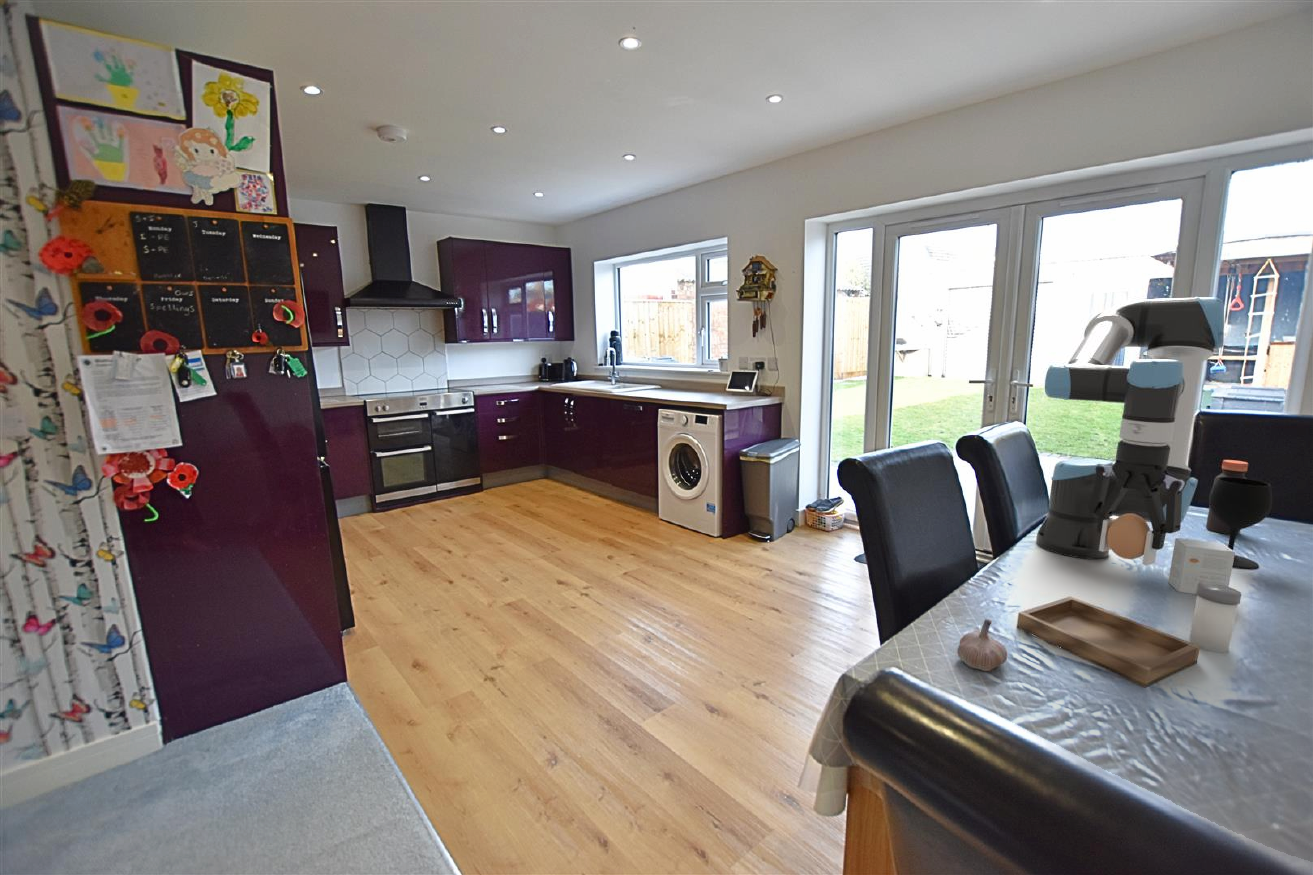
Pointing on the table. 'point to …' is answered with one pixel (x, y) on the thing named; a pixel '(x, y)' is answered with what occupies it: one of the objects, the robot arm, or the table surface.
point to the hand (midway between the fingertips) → (1125, 556)
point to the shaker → (1214, 616)
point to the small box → (1199, 564)
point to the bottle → (1229, 470)
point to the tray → (1109, 640)
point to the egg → (1128, 536)
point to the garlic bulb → (981, 649)
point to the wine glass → (1240, 508)
